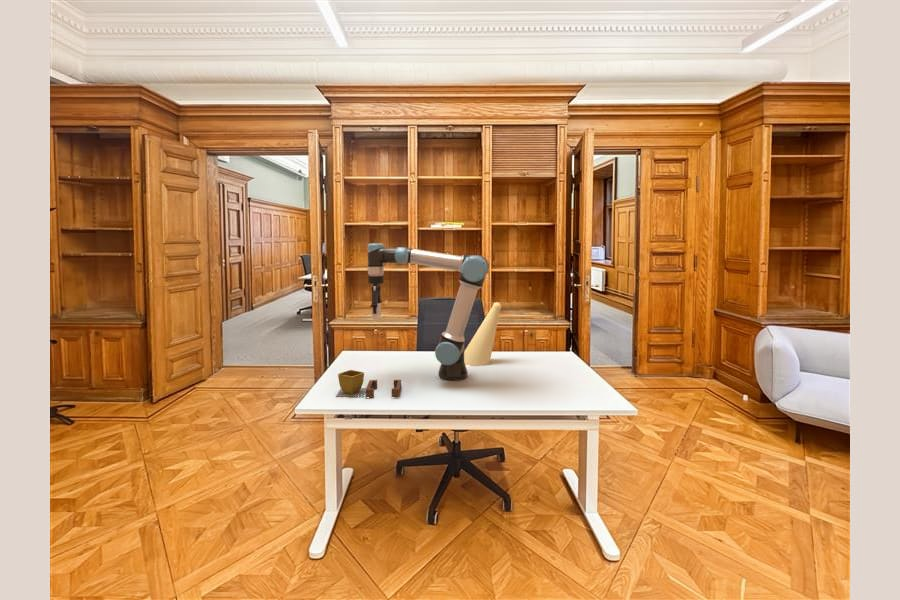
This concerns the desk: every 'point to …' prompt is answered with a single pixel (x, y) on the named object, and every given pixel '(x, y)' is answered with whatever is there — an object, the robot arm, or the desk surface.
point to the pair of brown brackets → (373, 385)
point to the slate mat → (343, 394)
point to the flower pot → (351, 381)
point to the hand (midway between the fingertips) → (376, 318)
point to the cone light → (483, 339)
